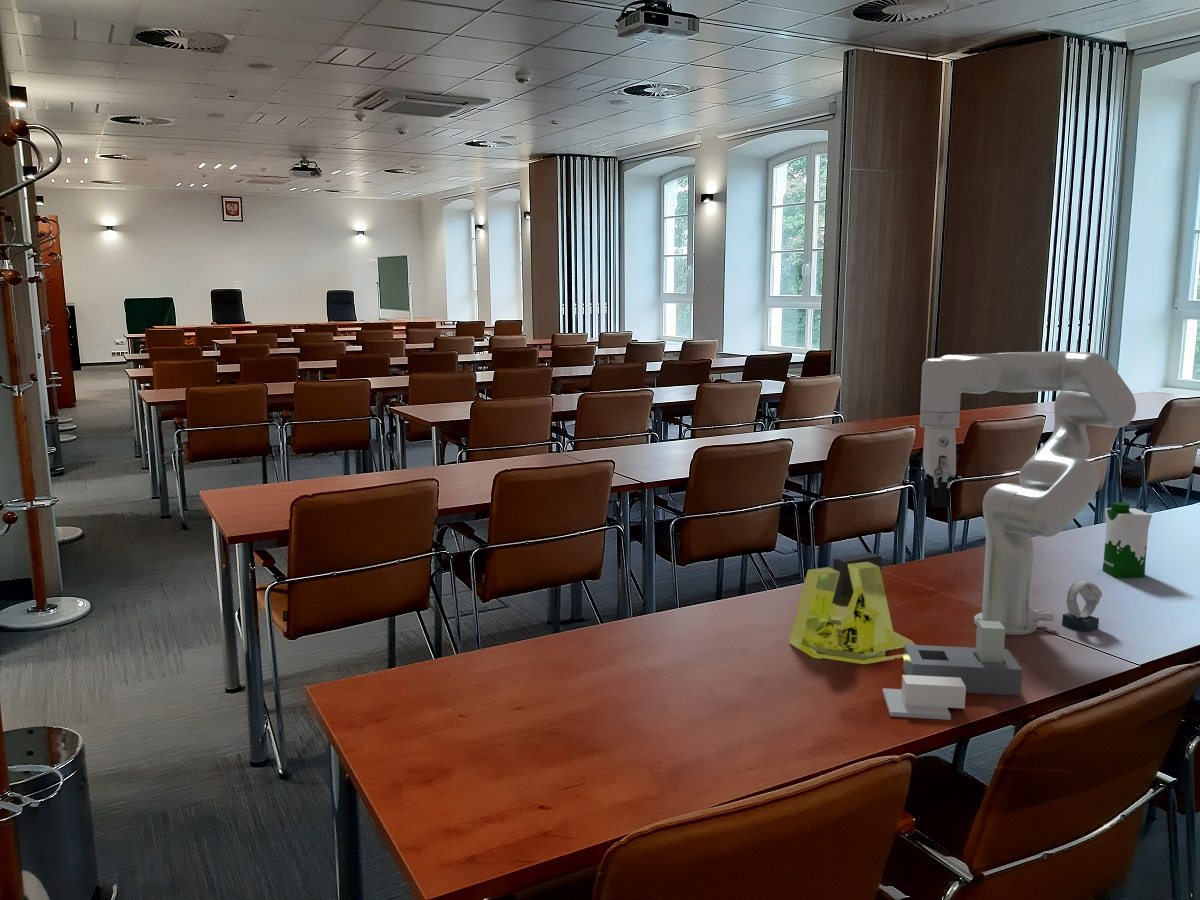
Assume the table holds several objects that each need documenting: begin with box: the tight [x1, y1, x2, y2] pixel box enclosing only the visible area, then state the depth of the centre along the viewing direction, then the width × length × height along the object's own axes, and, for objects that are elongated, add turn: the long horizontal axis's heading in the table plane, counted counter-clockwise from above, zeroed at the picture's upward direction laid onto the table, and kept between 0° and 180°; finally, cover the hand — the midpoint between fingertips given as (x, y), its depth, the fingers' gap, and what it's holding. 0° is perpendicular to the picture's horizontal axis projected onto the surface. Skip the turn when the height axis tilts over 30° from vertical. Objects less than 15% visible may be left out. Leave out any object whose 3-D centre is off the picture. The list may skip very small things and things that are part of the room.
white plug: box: [901, 674, 967, 710], centre depth 162 cm, size 4×4×10 cm
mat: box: [882, 688, 952, 721], centre depth 162 cm, size 10×10×1 cm
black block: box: [832, 552, 883, 603], centre depth 205 cm, size 11×4×15 cm, turn 116°
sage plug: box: [975, 621, 1006, 663], centre depth 171 cm, size 4×4×10 cm
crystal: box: [788, 562, 917, 665], centre depth 190 cm, size 18×25×16 cm
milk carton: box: [1102, 501, 1153, 579], centre depth 233 cm, size 9×9×20 cm
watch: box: [1061, 579, 1103, 633], centre depth 198 cm, size 6×8×11 cm
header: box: [902, 644, 1023, 697], centre depth 172 cm, size 19×10×5 cm, turn 80°
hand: (935, 502), depth 188 cm, fingers open, 9 cm apart
